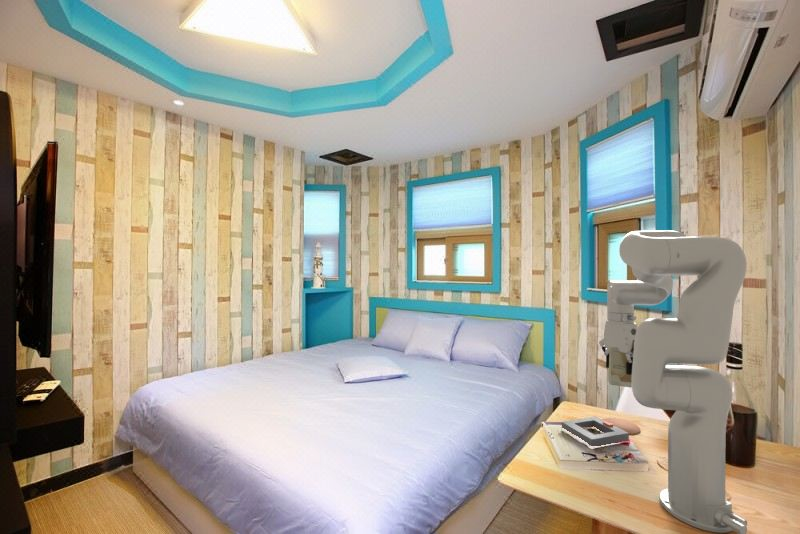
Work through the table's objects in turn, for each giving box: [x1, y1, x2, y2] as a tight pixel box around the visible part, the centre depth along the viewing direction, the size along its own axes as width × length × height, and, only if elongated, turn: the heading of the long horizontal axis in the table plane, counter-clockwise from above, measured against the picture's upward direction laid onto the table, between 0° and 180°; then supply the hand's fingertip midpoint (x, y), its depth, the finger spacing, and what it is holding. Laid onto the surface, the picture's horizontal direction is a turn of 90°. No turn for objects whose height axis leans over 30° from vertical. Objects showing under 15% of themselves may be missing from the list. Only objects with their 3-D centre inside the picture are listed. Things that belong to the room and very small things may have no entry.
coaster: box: [602, 417, 641, 436], centre depth 116 cm, size 11×11×1 cm
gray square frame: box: [561, 416, 630, 446], centre depth 109 cm, size 12×14×4 cm
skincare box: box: [607, 348, 632, 389], centre depth 116 cm, size 6×4×12 cm
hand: (620, 370), depth 116 cm, fingers closed on skincare box, 7 cm apart
